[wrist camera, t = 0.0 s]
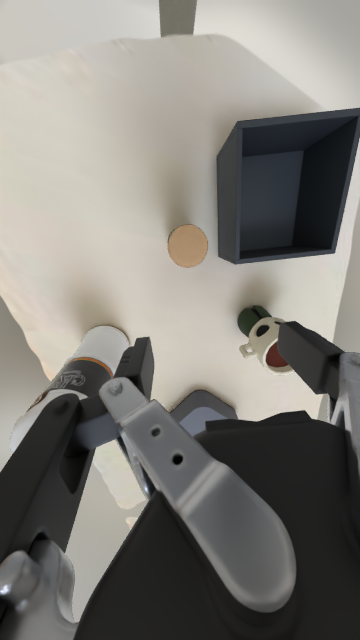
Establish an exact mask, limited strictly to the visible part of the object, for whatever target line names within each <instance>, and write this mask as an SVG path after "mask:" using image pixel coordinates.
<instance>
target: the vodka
mask: <svg viewBox="0 0 360 640" xmlns="http://www.w3.org/2000/svg"><path fill="white" fill-rule="evenodd" d="M128 347H130V345H129V341H128V339H127V337H126V336H125V335H124V334H123V333H122V332H121V331H120V330H118V329H116V328H114V327H111V326H98V327H95V328H92V329H91V330H89V331H88V332H87V333H86V334H85V336H84V337H83V339H82V341H81V344H80V346H79V348H78V349H77V351H76V352H75V353H74V354H73V356H72V357H70V358H69V359H68V360H67V361H66V362H65V364H64V367H63V368H62V369H61V370H60V372H59V373H58V374H57V375H56V376H55V378H54V379H53V380H52V381H51V383H50V384H49V385H48V386H47V387H46V389H45V390H44V391H43V392H42V394H41V395H40V396H39V397H38V398H37V400H36V401H35V402H34V403H33V405H32V406H31V407H30V408H29V410H28V411H27V412H26V413H25V414H24V415H23V416H22V417H20V418H19V419H18V420H17V422H16V423H15V425H14V427H13V430H12V432H11V436H10V448H11V450H12V452H13V453H14V451H15V450H16V448H17V447H18V445H19V444H20V442H21V441H22V439H23V438H24V436H25V435H26V433H27V432H28V430H29V429H30V427H31V426H32V424H33V423H34V421H35V420H36V419H37V417H38V416H39V414H40V413H41V411H42V410H43V408H44V407H45V406H46V405H47V404H48V403H49V402H50V401H51V400H53V399H54V398H56V397H58V396H60V395H63V394H67V393H74V394H77V395H78V397H79V399H80V400H81V399H84V398H87V397H90V396H93V395H96V394H98V393H99V390H100V388H101V387H102V386H103V385H104V384H105V383H106V382H107V381H109V380H111V379H113V377H114V374H115V372H116V369H117V367H118V364H119V362H120V359H121V357H122V354H123V352H124V351H125V350H126V349H127V348H128Z"/></svg>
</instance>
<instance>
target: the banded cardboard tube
mask: <svg viewBox="0 0 360 640" xmlns="http://www.w3.org/2000/svg"><path fill="white" fill-rule="evenodd" d="M207 250H208V241H207V238H206V235H205V234H204V232H203V231H202V230H201V229H200V228H198V227H197V226H194V225H182V226H180V227H178V228H176V229H174V230H173V231H172V232H171V234H170V235H169V238H168V252H169V255H170V257H171V259H172V260H173V261H174V262H175V263H176V264H177V265H179V266H181V267H186V268H189V267H194V266H196V265H198V264H199V263H200V262H202V260H203V259H204V258H205V256H206V254H207Z"/></svg>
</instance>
